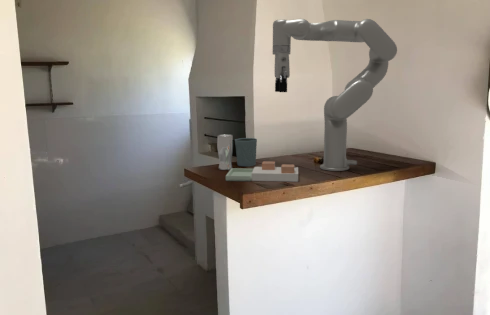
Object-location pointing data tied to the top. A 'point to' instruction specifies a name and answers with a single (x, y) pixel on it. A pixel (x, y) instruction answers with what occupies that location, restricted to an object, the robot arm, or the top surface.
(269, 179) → the white slab
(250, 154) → the grey cup
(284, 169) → the near tile
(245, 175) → the tray
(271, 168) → the far tile
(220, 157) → the beer glass
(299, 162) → the top surface
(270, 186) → the top surface
